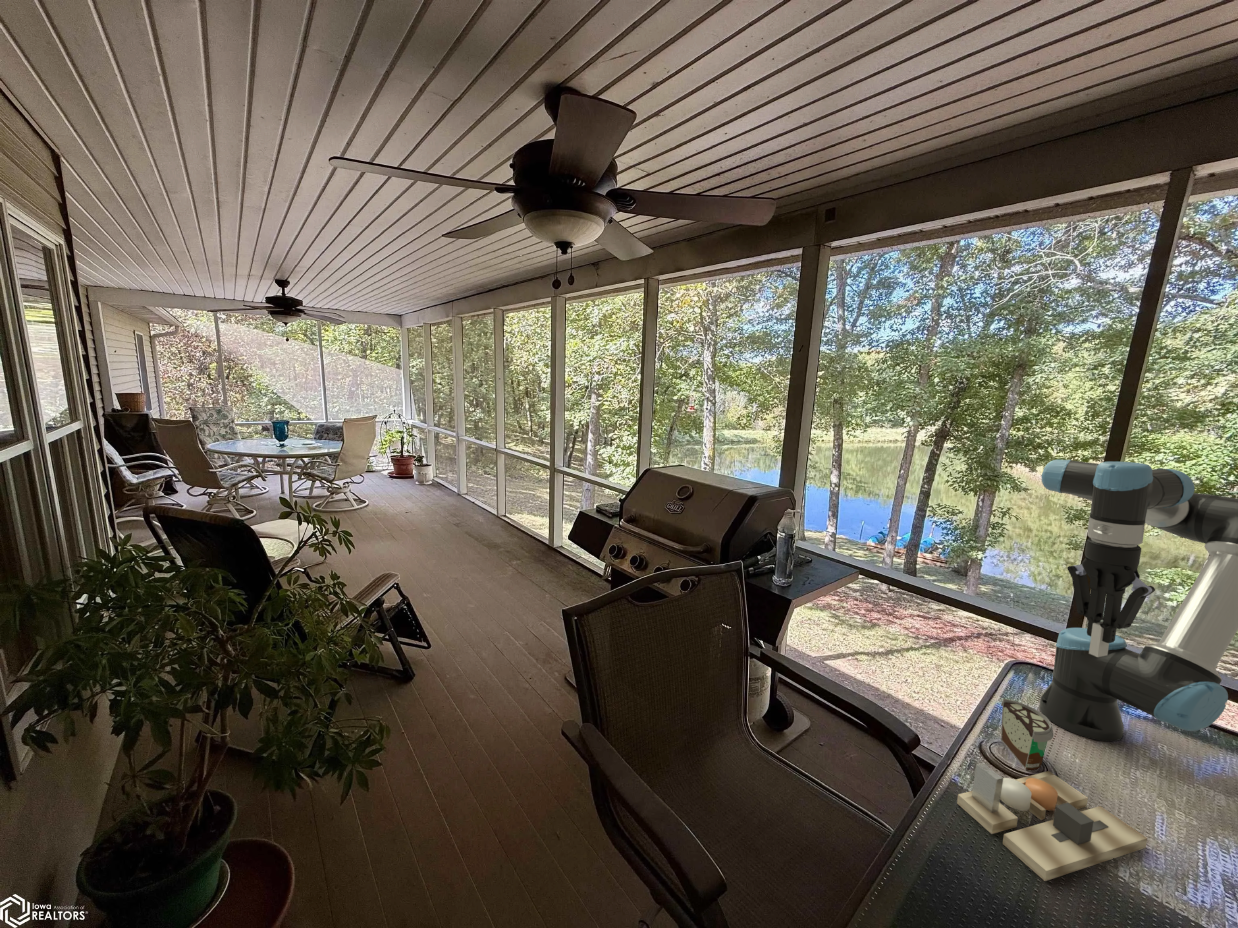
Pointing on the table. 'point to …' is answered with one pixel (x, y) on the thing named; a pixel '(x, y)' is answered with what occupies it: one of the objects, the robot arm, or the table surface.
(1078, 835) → the slider knob
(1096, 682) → the robot arm
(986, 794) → the toggle lever
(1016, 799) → the white egg
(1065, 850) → the beige flat pieces
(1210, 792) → the table surface
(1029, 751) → the food container
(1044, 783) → the brown egg
